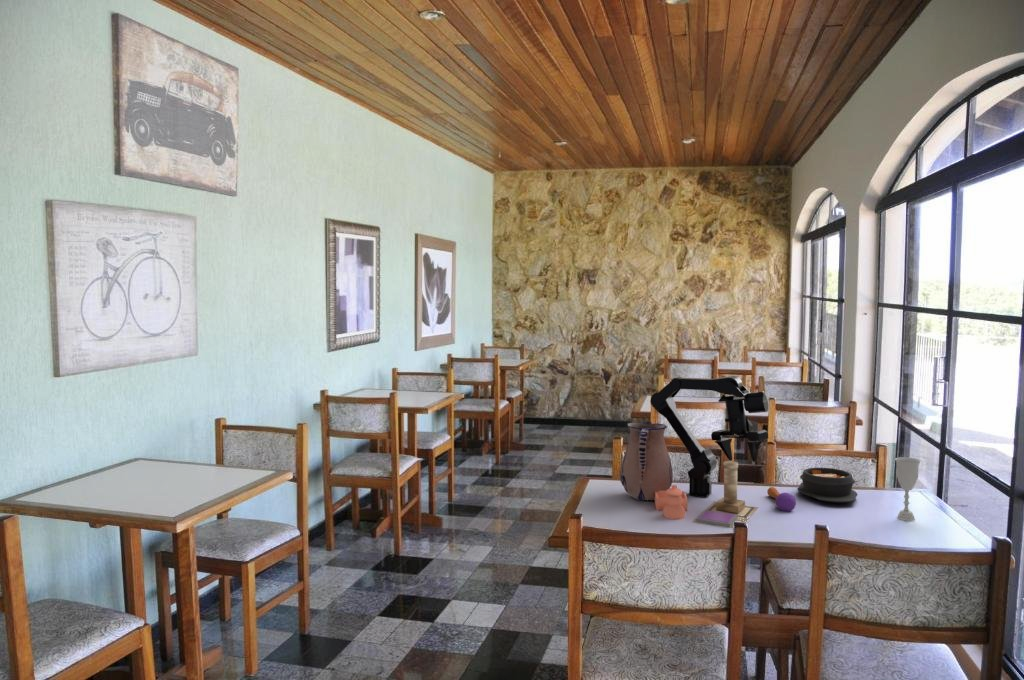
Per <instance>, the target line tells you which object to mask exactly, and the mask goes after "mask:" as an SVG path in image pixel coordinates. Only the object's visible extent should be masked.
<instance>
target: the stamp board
mask: <svg viewBox="0 0 1024 680" xmlns="http://www.w3.org/2000/svg"><path fill="white" fill-rule="evenodd" d="M716 502H717V501H713V502H712V503H711V504H710V505H709V506H708V507H707V508H706V509H705V510H708V511H715V512H722V513H729V512H723V511H717V510H716ZM759 507H760V506H759ZM759 507H758V506H752V505H746V504H745V508H744V509H743V510H742V511H741V512H739V513H738V514H736V515H738V519H737V520H736V521H741V522H745V521H746V522H745V524H746V523H747V522H748V521H747V520H750V518H748V519H747V517H749V516H751V517H752V516H753V515H754V514H755V512H756V511H757V510H758V509H759ZM705 510H704V511H705ZM704 511H702V512H701V513H700V514H699V515H701V514H702V513H703V512H704ZM729 514H735V513H729ZM741 515H743V516H741ZM743 518H744V519H743ZM740 519H741V520H740ZM743 520H744V521H743ZM692 523H695V524H696V523H697V524H702V525H709V526H716V527H721V528H722V527H723V528H727V529H728V528H729V529H734V528H733V524H732V525H731V526H730V527H726V526H719V525H713V524H706V523H700V522H696V518H695V519H694V520H692Z"/></svg>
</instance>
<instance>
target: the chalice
mask: <svg viewBox="0 0 1024 680" xmlns="http://www.w3.org/2000/svg"><path fill="white" fill-rule="evenodd" d="M894 461H895V463H896V472H895V473H896V474H895V476H896V478H897V481H898V484H899V486H900V487H901V489H902V490H904V495H903V498H904V501H903V504H904V508H903V509H901V510H899V513H898V515H897V516H896V519H898V520H900V521H904V522H914V521H916V518H915V515H914V512H913V511H911V510H910V509H909V504H911V503H910V502H909V499H910V495H909V491H911V490H913V488H914V487H915V485H916V484H917V480H918V478H919V465H920V463H921V460H920V459H918V458H915V457H914V458H913V457H903V456H900V457H899V456H898V457H895V458H894Z"/></svg>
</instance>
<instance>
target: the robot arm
mask: <svg viewBox="0 0 1024 680" xmlns="http://www.w3.org/2000/svg"><path fill="white" fill-rule="evenodd" d="M681 390H694V391H697V390H698V391H712V392H716V393H719V394H722V395H721V397H720V398H719V400H718V403H724V404H725V410H726V411H725V412H726V417H727V418H724V421H725V423H727V424H728V425H727V426H728V429H718V430H714V431H712V432H711V435H710V439H711V441H714V443H715V444H717V445H718V447H720V449H721V450H722V452H723V453H724V455H725V457H727V459H728V461H733V453H732V445H731V444H732V441H733V439H747V440H748V441H747V446H748V451H749V453H750V458H751V461H752V462H753V463H755V462H756V461H757V458H758V455H759V454H758V452H759V448H760V446H761V444H762V443H763V442H765V441H766V440H767V439H769V433H768V431H767V430H766V429H759V422H756V421H753V420H749V416H748V415H746V413H745V411H746V412H748V414H757V413H758V414H759V413H768V412H769V400H768V399H767V398H768V397H767V395H766V393H765V391H764V390H760V391H757V392H755V391H754V392H751V391H750V390H748V388H747V387H746V386H744V384H743V381H742V380H741V378H740V377H739V376H736V375H730V376H729V375H728V376H723V377H718V378H701V377H682V376H677V377H673V378H672V379H671V380H670V381H669V382H668V383H667V384H666V385H665V386H664V387H662V388H661V389H660V390H659V391H658V392H655V393H653V394H652V395H651V397H650V401H649V402H650V405H651V407H652V408H654V410H655V411H656V412H657V413H658V414H659V415H661V416H663V418H665V419H666V420H667V423H668V424H669V425H670V426H671V428H672V430H673V431H674V432H675V434H676V435H677V437H678V438H679V439H680V441H681V442H682V444H683V446H684V447H685V448H686V450H687V451H688V453H689V456H690V461H691V463H692V466H693V467H692V468H691V469H690V470H688V471H687V476H688V480H689V485H688V487H689V490H688V491H689V492H688V493H687V495H688V496H690V497H691V496H692V497H700V498H708V497H709V496H710V495H712V481H711V476H710V475H711V474H712V471H714V470H715V469H716V468H717V463H718V461H717V459H716V458H717V455H715V454H714V453H713V452H712V450H711V448H710V447H707V448H705V447H703V446H702V445H701V444H700V442H699V441H698V439H697V438H696V436H695V435H694V433H693V432H692V431H691V429H690V428H689V426H688V425H687V423H686V421H684V419H683V418H682V416H681V415H680V413H679V412H678V410H677V404H676V402H675V400H674V398H675V397H676V395H677V394H679V392H680V391H681Z"/></svg>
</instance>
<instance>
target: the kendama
mask: <svg viewBox="0 0 1024 680" xmlns="http://www.w3.org/2000/svg"><path fill="white" fill-rule="evenodd" d="M767 496H769V497H771V498H774V499H775V506H776V507H777V508H778V509H779V510H780V511H783V512H791V511H793V510H794V509H795V508H796V505H797V501H796V498H795V496H794V495H792V494H791V493H788V492H781V493H780V492H779V491H778V489H777V488H776V487H774V486H772V487H771V486H770V487H768V489H767Z"/></svg>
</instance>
